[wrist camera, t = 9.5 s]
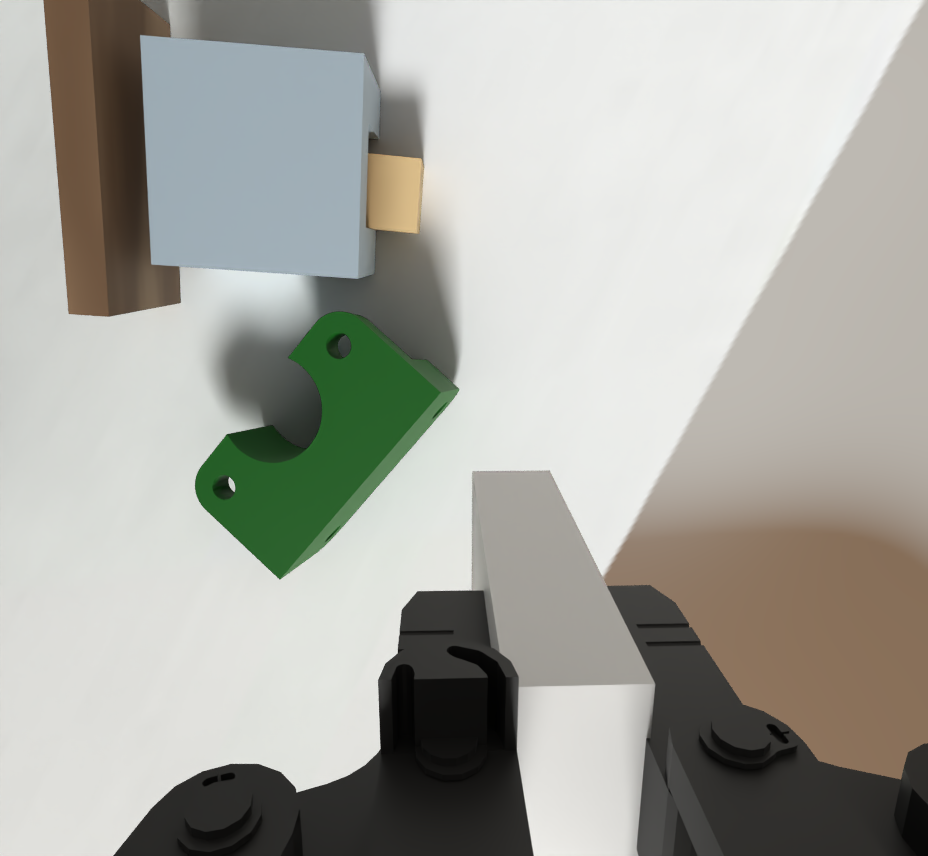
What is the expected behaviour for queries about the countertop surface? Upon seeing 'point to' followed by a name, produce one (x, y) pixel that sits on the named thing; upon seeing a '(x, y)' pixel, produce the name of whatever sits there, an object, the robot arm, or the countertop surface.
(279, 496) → the clamp
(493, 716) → the robot arm
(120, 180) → the wall
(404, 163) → the tan rectangular bar
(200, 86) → the block
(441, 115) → the countertop surface
